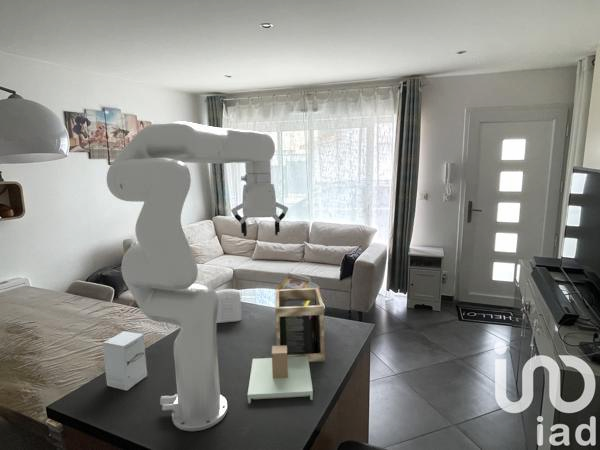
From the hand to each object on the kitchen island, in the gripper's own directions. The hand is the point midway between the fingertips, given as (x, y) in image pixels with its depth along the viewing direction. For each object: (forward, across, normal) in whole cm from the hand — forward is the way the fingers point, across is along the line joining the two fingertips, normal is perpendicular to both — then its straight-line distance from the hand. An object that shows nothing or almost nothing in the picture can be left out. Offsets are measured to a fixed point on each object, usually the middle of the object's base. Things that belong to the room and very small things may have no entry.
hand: (260, 235), depth 111 cm
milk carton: (+37, +12, +13) cm, 41 cm away
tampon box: (+37, +11, -4) cm, 38 cm away
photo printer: (+37, -15, +20) cm, 44 cm away
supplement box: (+37, -37, -17) cm, 55 cm away
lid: (+36, +5, -21) cm, 42 cm away
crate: (+36, +11, -4) cm, 38 cm away
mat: (+36, +5, -21) cm, 42 cm away
